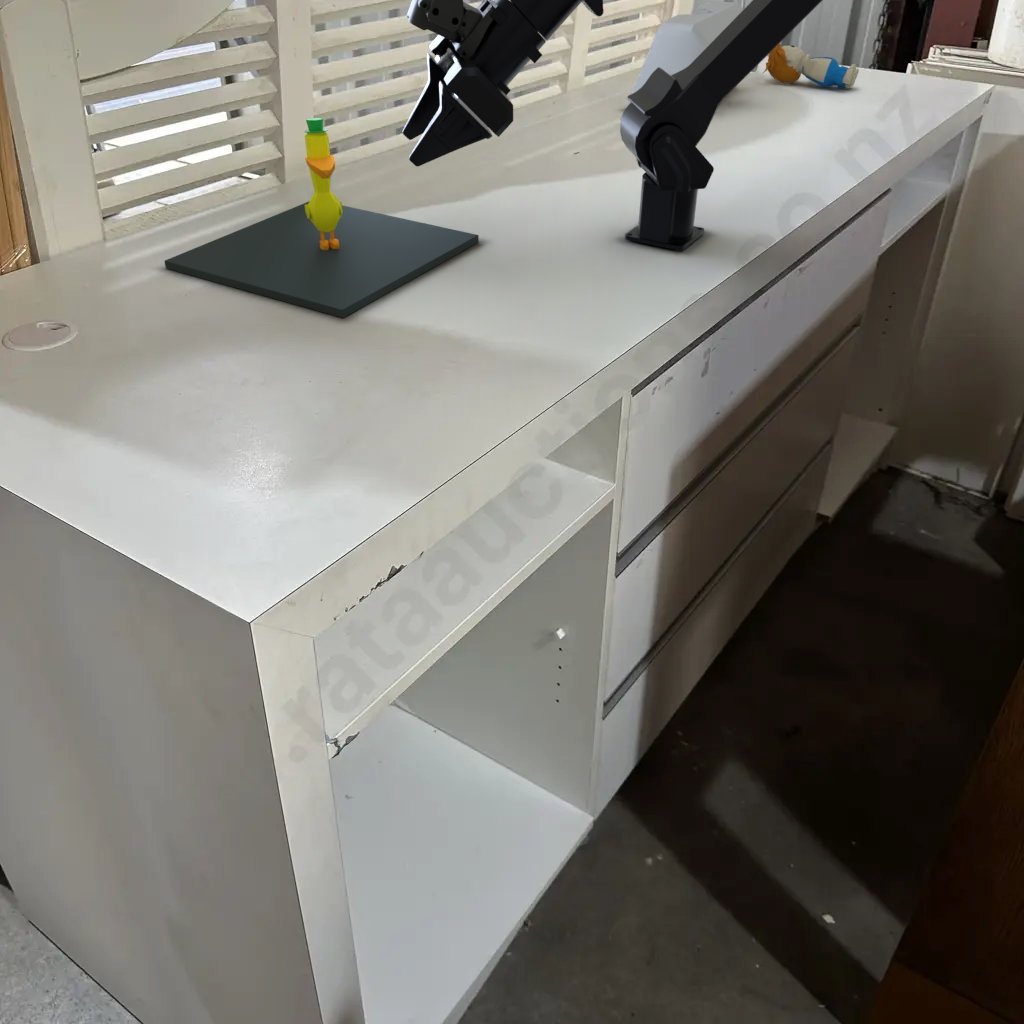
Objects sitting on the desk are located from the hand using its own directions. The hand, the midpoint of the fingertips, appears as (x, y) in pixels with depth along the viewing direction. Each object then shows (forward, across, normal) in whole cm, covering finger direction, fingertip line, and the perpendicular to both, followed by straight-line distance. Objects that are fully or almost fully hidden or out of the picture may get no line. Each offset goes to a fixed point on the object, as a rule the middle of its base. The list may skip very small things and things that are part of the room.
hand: (409, 149), depth 91 cm
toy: (-42, -67, +57) cm, 98 cm away
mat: (+13, 0, +1) cm, 13 cm away
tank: (-28, -59, +42) cm, 77 cm away
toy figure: (+13, 0, 0) cm, 13 cm away
